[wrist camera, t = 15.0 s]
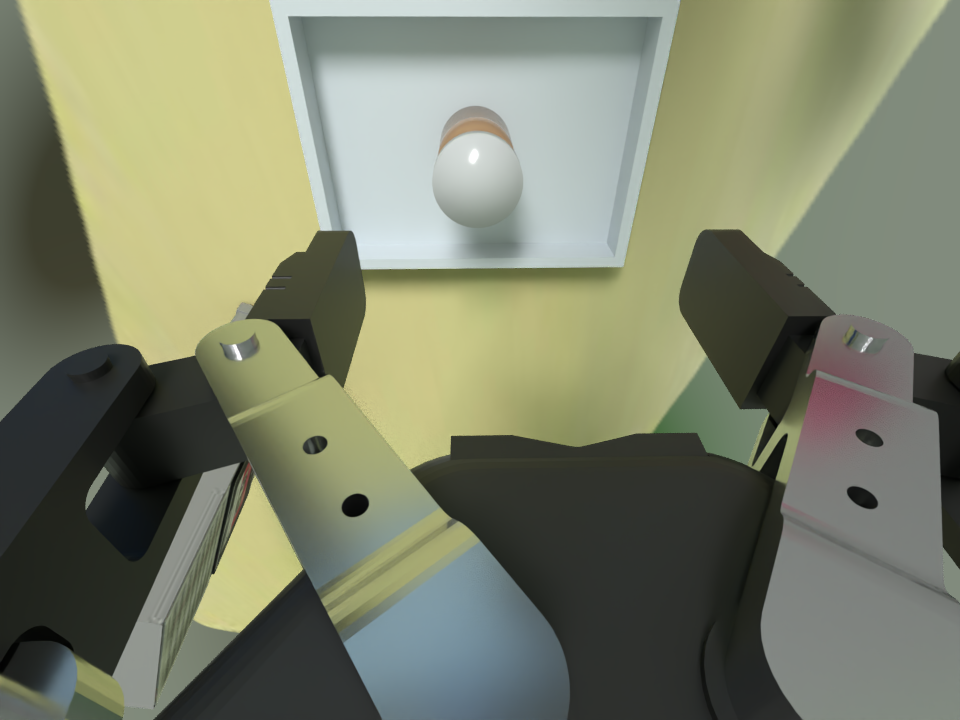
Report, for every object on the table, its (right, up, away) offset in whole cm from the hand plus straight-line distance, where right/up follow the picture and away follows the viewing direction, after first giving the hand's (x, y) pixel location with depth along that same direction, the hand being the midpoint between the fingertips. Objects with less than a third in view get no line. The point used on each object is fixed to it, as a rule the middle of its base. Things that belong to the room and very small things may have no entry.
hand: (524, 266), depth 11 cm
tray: (-1, +13, +21) cm, 25 cm away
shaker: (-1, +12, +21) cm, 24 cm away
